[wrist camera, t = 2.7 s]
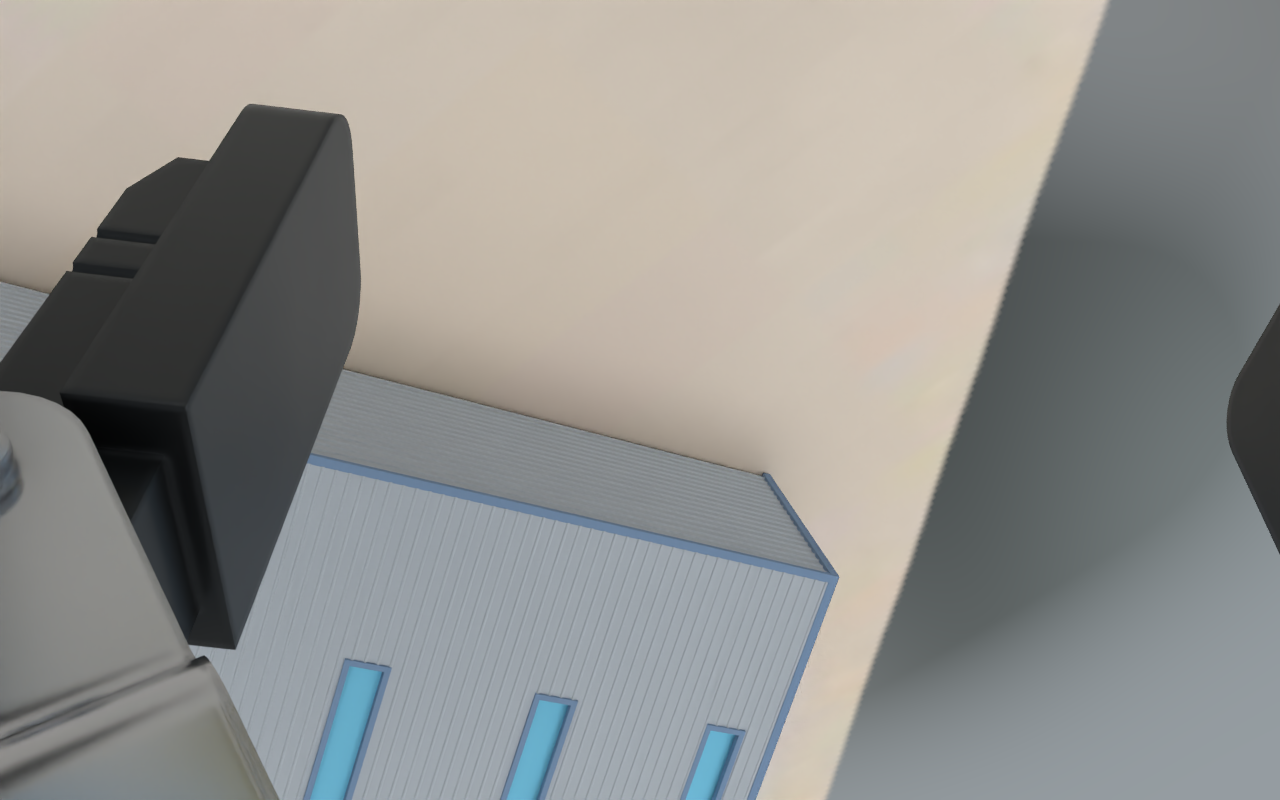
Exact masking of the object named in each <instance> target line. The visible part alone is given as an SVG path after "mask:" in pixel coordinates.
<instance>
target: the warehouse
mask: <svg viewBox="0 0 1280 800" xmlns="http://www.w3.org/2000/svg"><path fill="white" fill-rule="evenodd" d="M49 295H50V294H47V293H43V292H39V291H36V290H32V289H28V288H24V287H20V286H16V285H12V284H8V283H4V282H0V362H1V361H2V359H3V358H4V357H5V355H6V354H7V352H8V351H9V350H10V348H11V347H12V345H13V344H14V343H15V341H16V340H17V339H18V337H19V336H20V334H21V333H22V332H23V330H24V329H25V328H26V326H27V325H28V323H29V322H30V321H31V319H32V318H33V317H34V315H35V314H36V312H37V311H38V310H39V308H40V307H41V306H42V304H43V303H44V301H45V300H46V299H47V297H48V296H49ZM838 579H839V576H838V574H837V573H836V571H835V570H834V568H833V567H832V565H831V564H830V562H829V561H828V559H827V558H826V556H825V555H824V554H823V552H822V551H821V549H820V548H819V546H818V545H817V543H816V542H815V540H814V539H813V537H812V536H811V534H810V533H809V531H808V530H807V528H806V527H805V525H804V524H803V523H802V521H801V520H800V518H799V517H798V515H797V514H796V512H795V511H794V509H793V508H792V506H791V505H790V503H789V502H788V500H787V499H786V497H785V496H784V494H783V493H782V492H781V490H780V489H779V487H778V486H777V484H776V483H775V481H774V480H773V478H772V477H771V475H770V474H766V473H763V475H762V476H760V475H756V474H752V473H748V472H744V471H740V470H736V469H732V468H728V467H724V466H720V465H717V464H713V463H709V462H705V461H701V460H697V459H693V458H689V457H685V456H681V455H677V454H673V453H670V452H666V451H662V450H658V449H654V448H650V447H646V446H642V445H638V444H634V443H630V442H627V441H623V440H619V439H615V438H611V437H607V436H603V435H599V434H595V433H591V432H587V431H583V430H580V429H576V428H572V427H568V426H564V425H560V424H556V423H552V422H548V421H544V420H540V419H536V418H533V417H529V416H525V415H521V414H517V413H513V412H509V411H505V410H501V409H497V408H493V407H490V406H486V405H482V404H478V403H474V402H470V401H466V400H462V399H458V398H454V397H450V396H446V395H443V394H439V393H435V392H431V391H427V390H423V389H419V388H415V387H411V386H407V385H403V384H400V383H396V382H392V381H388V380H384V379H380V378H376V377H372V376H368V375H364V374H360V373H356V372H353V371H349V370H345V369H342V372H341V375H340V377H339V380H338V382H337V385H336V388H335V390H334V393H333V396H332V398H331V401H330V403H329V406H328V409H327V411H326V414H325V417H324V419H323V422H322V424H321V427H320V430H319V432H318V435H317V438H316V440H315V443H314V445H313V448H312V451H311V453H310V456H309V459H308V461H307V464H306V466H305V469H304V472H303V474H302V477H301V480H300V482H299V485H298V487H297V490H296V493H295V495H294V498H293V501H292V503H291V506H290V508H289V511H288V514H287V516H286V519H285V522H284V524H283V527H282V529H281V532H280V535H279V537H278V540H277V543H276V545H275V548H274V551H273V553H272V556H271V558H270V561H269V564H268V566H267V569H266V572H265V574H264V577H263V579H262V582H261V585H260V587H259V590H258V593H257V595H256V598H255V600H254V603H253V606H252V608H251V611H250V614H249V616H248V619H247V621H246V624H245V627H244V629H243V632H242V635H241V637H240V640H239V642H238V645H237V648H236V650H231V649H221V648H212V647H203V646H193V645H189V647H190V649H191V651H192V653H193V654H194V656H195V658H198V657H201V656H203V655H205V656H206V657H207V658H208V659H209V660H210V662H211V663H212V664H213V666H214V668H215V669H216V671H217V672H218V674H219V676H220V678H221V680H222V682H223V683H224V685H225V687H226V689H227V691H228V693H229V695H230V697H231V699H232V701H233V704H234V706H235V708H236V710H237V712H238V714H239V716H240V718H241V720H242V722H243V724H244V726H245V729H246V731H247V733H248V735H249V737H250V739H251V741H252V743H253V745H254V747H255V749H256V751H257V753H258V756H259V758H260V760H261V762H262V764H263V766H264V768H265V770H266V772H267V774H268V776H269V778H270V781H271V783H272V785H273V787H274V789H275V791H276V793H277V795H278V797H279V799H280V800H756V797H757V795H758V792H759V789H760V787H761V784H762V781H763V779H764V776H765V773H766V771H767V768H768V765H769V763H770V760H771V757H772V755H773V752H774V749H775V747H776V744H777V741H778V739H779V736H780V733H781V731H782V728H783V725H784V723H785V720H786V717H787V715H788V712H789V709H790V707H791V704H792V701H793V699H794V696H795V693H796V691H797V688H798V685H799V683H800V680H801V677H802V675H803V672H804V669H805V667H806V664H807V662H808V659H809V656H810V654H811V651H812V648H813V646H814V643H815V640H816V638H817V635H818V632H819V630H820V627H821V624H822V622H823V619H824V616H825V614H826V611H827V608H828V606H829V603H830V600H831V598H832V595H833V592H834V590H835V587H836V584H837V582H838Z"/></svg>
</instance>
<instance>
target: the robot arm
mask: <svg viewBox="0 0 1280 800" xmlns="http://www.w3.org/2000/svg"><path fill="white" fill-rule="evenodd" d="M360 290H361V272H360V256H359V241H358V226H357V211H356V195H355V180H354V165H353V150H352V139H351V133H350V128H349V124H348V122H347V119H346V118H345V117H344V116H343V115H341V114H333V113H325V112H316V111H308V110H300V109H291V108H283V107H275V106H266V105H258V104H249V105H247V106H246V107H245V108H244V109H243V110H242V111H241V113H240V114H239V116H238V118H237V119H236V121H235V122H234V124H233V125H232V127H231V128H230V130H229V131H228V133H227V134H226V136H225V138H224V139H223V141H222V142H221V144H220V145H219V147H218V148H217V150H216V151H215V153H214V155H213V156H212V158H211V159H210V161H204V160H196V159H188V158H179V157H178V158H176V159H174V160H173V161H171V162H169V163H168V164H166V165H165V166H163V167H161V168H160V169H158V170H156V171H155V172H153V173H151V174H150V175H148V176H146V177H145V178H143V179H142V180H140V181H138V182H137V183H135V184H133V185H132V186H130V187H128V188H127V189H126V190H125V191H124V193H123V194H122V195H121V197H120V198H119V200H118V201H117V202H116V204H115V205H114V206H113V208H112V209H111V211H110V212H109V213H108V215H107V216H106V217H105V219H104V220H103V222H102V223H101V224H100V226H99V227H98V229H97V238H96V237H91V238H90V240H89V241H88V242H87V244H86V245H85V246H84V248H83V249H82V251H81V252H80V253H79V255H78V256H77V257H76V259H75V260H74V262H73V270H72V272H70V271H66V273H65V274H64V275H63V277H62V278H61V279H60V281H59V282H58V284H57V285H56V286H55V288H54V289H53V290H52V292H51V293H50V295H49V296H48V297H47V299H46V300H45V301H44V303H43V304H42V306H41V307H40V308H39V310H38V311H37V312H36V314H35V315H34V317H33V318H32V319H31V321H30V322H29V323H28V325H27V326H26V328H25V329H24V330H23V332H22V333H21V334H20V336H19V337H18V339H17V340H16V341H15V343H14V344H13V345H12V347H11V348H10V350H9V351H8V352H7V354H6V355H5V357H4V358H3V359H2V361H1V362H0V800H280V799H279V797H278V795H277V793H276V791H275V789H274V787H273V785H272V783H271V781H270V778H269V776H268V774H267V772H266V770H265V768H264V766H263V764H262V762H261V760H260V758H259V756H258V753H257V751H256V749H255V747H254V745H253V743H252V741H251V739H250V737H249V735H248V733H247V731H246V729H245V726H244V724H243V722H242V720H241V718H240V716H239V714H238V712H237V710H236V708H235V706H234V704H233V701H232V699H231V697H230V695H229V693H228V691H227V689H226V687H225V685H224V683H223V682H222V680H221V678H220V676H219V674H218V672H217V671H216V669H215V668H214V666H213V664H212V663H211V662H210V660H209V659H208V658H207V657H206V656H205V655H203V656H201V657H198V658H195V656H194V654H193V653H192V651H191V649H190V647H189V645H193V646H203V647H212V648H221V649H231V650H236V648H237V645H238V642H239V640H240V637H241V635H242V632H243V629H244V627H245V624H246V621H247V619H248V616H249V614H250V611H251V608H252V606H253V603H254V600H255V598H256V595H257V593H258V590H259V587H260V585H261V582H262V579H263V577H264V574H265V572H266V569H267V566H268V564H269V561H270V558H271V556H272V553H273V551H274V548H275V545H276V543H277V540H278V537H279V535H280V532H281V529H282V527H283V524H284V522H285V519H286V516H287V514H288V511H289V508H290V506H291V503H292V501H293V498H294V495H295V493H296V490H297V487H298V485H299V482H300V480H301V477H302V474H303V472H304V469H305V466H306V464H307V461H308V459H309V456H310V453H311V451H312V448H313V445H314V443H315V440H316V438H317V435H318V432H319V430H320V427H321V424H322V422H323V419H324V417H325V414H326V411H327V409H328V406H329V403H330V401H331V398H332V396H333V393H334V390H335V388H336V385H337V382H338V380H339V377H340V375H341V372H342V369H343V367H344V364H345V361H346V359H347V356H348V354H349V351H350V348H351V345H352V342H353V338H354V335H355V330H356V325H357V319H358V313H359V304H360ZM1227 434H1228V440H1229V444H1230V448H1231V450H1232V453H1233V455H1234V457H1235V459H1236V461H1237V463H1238V466H1239V468H1240V470H1241V472H1242V474H1243V476H1244V479H1245V481H1246V483H1247V485H1248V487H1249V489H1250V491H1251V494H1252V496H1253V498H1254V500H1255V502H1256V504H1257V506H1258V509H1259V511H1260V513H1261V515H1262V517H1263V519H1264V521H1265V524H1266V526H1267V528H1268V530H1269V532H1270V534H1271V536H1272V539H1273V541H1274V543H1275V545H1276V547H1277V549H1278V551H1279V553H1280V305H1279V306H1278V308H1277V310H1276V312H1275V313H1274V315H1273V317H1272V318H1271V320H1270V322H1269V324H1268V325H1267V327H1266V329H1265V331H1264V332H1263V334H1262V336H1261V337H1260V339H1259V341H1258V342H1257V344H1256V346H1255V348H1254V349H1253V351H1252V353H1251V355H1250V356H1249V358H1248V360H1247V361H1246V363H1245V365H1244V366H1243V368H1242V370H1241V372H1240V373H1239V375H1238V377H1237V379H1236V381H1235V384H1234V386H1233V389H1232V392H1231V396H1230V399H1229V405H1228V410H1227Z"/></svg>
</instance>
